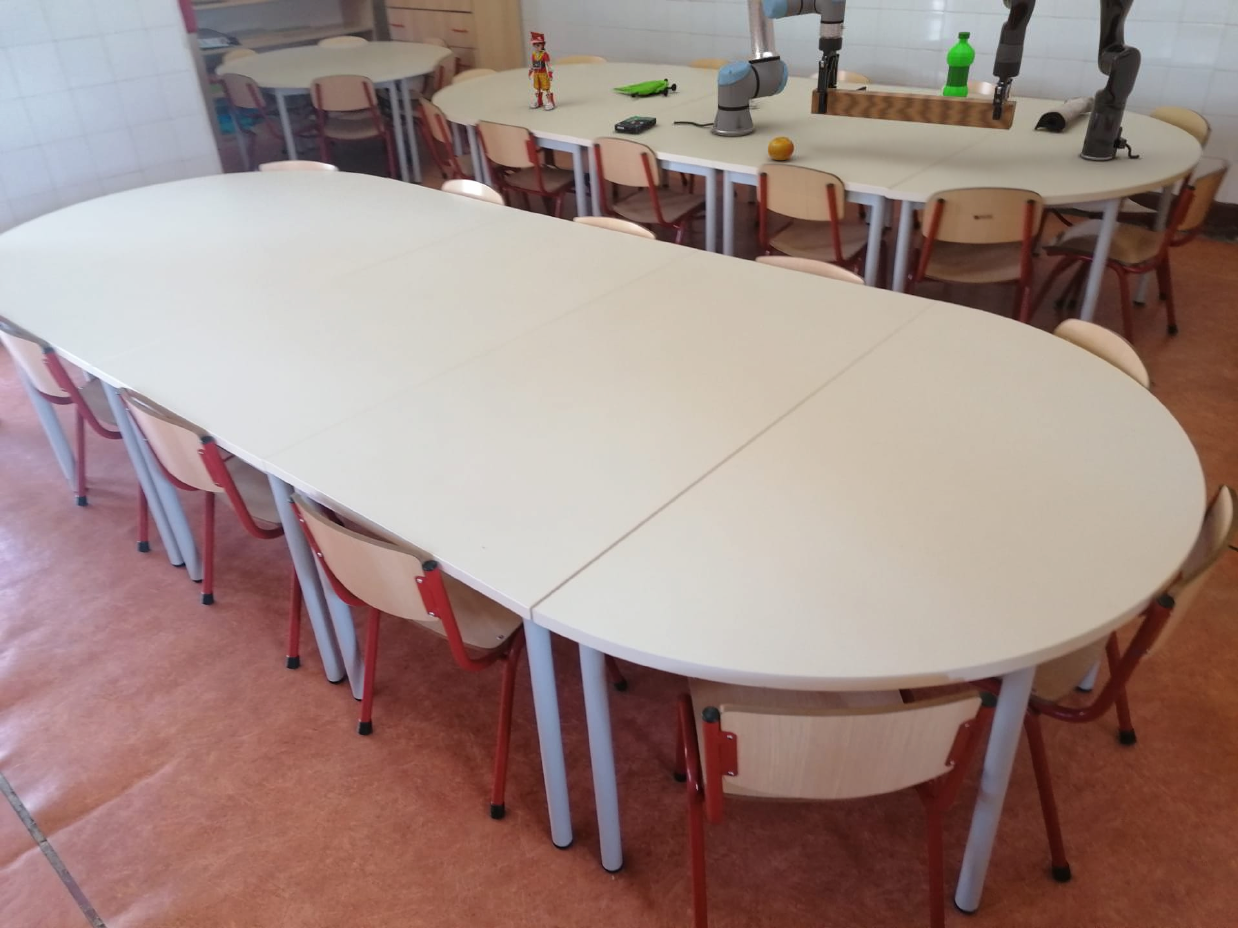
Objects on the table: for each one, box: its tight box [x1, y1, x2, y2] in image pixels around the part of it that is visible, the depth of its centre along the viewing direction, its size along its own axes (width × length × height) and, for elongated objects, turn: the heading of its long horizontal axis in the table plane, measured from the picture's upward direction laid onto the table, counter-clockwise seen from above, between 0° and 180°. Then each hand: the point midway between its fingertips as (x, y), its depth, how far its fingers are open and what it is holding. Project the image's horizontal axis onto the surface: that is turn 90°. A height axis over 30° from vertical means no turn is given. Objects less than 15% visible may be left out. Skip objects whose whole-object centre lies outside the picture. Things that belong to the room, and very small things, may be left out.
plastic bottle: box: [942, 31, 976, 98], centre depth 348 cm, size 10×10×25 cm
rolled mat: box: [1034, 96, 1094, 133], centre depth 322 cm, size 30×9×10 cm
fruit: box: [767, 136, 795, 161], centre depth 303 cm, size 8×8×8 cm
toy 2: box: [612, 78, 677, 99], centre depth 396 cm, size 28×5×30 cm
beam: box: [810, 87, 1018, 131], centre depth 291 cm, size 64×5×8 cm, turn 59°
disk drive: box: [614, 115, 657, 135], centre depth 346 cm, size 10×3×15 cm
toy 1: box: [527, 31, 556, 111], centre depth 374 cm, size 12×9×30 cm
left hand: (825, 111), depth 306 cm, fingers closed on beam, 5 cm apart
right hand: (997, 117), depth 280 cm, fingers closed on beam, 5 cm apart
